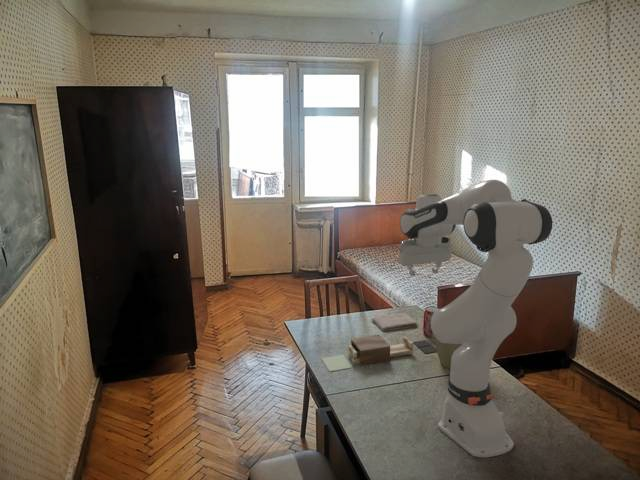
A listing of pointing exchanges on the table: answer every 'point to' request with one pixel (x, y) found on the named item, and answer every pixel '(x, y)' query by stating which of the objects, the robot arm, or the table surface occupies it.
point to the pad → (336, 363)
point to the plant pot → (445, 352)
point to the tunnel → (372, 349)
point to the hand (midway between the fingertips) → (423, 274)
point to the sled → (394, 350)
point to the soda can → (428, 320)
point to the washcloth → (394, 321)
